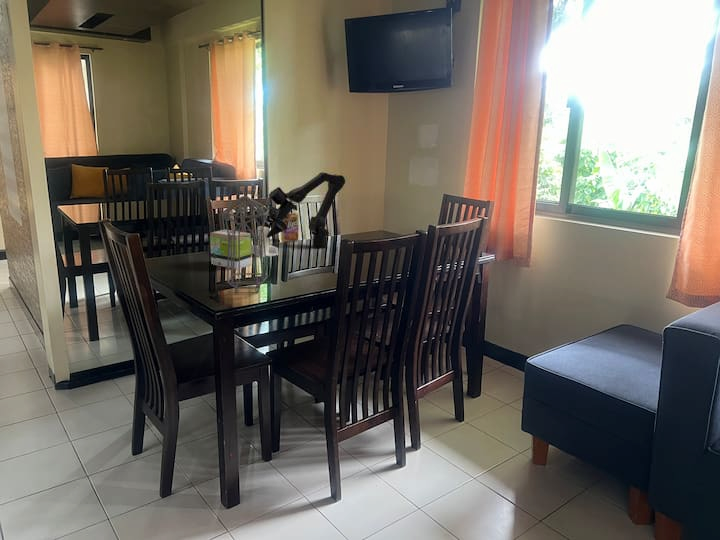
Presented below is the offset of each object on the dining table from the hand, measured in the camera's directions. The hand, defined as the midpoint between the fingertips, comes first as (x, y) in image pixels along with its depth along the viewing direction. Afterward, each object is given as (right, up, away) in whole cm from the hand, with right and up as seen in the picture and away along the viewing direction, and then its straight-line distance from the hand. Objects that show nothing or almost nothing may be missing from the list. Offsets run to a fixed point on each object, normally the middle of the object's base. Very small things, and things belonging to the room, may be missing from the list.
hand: (263, 235), depth 253 cm
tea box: (-10, -15, -21) cm, 28 cm away
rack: (0, -9, +2) cm, 9 cm away
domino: (0, -8, +2) cm, 8 cm away
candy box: (+8, -1, +34) cm, 35 cm away
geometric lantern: (+5, -24, -58) cm, 63 cm away
